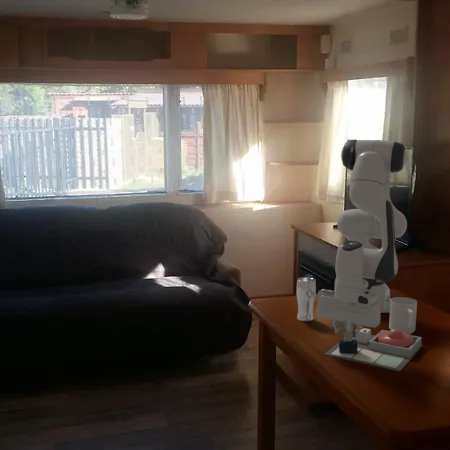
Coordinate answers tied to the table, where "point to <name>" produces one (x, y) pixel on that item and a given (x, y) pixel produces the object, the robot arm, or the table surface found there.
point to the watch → (347, 338)
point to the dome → (395, 338)
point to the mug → (403, 314)
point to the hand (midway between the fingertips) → (346, 335)
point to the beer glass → (305, 298)
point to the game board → (378, 352)
